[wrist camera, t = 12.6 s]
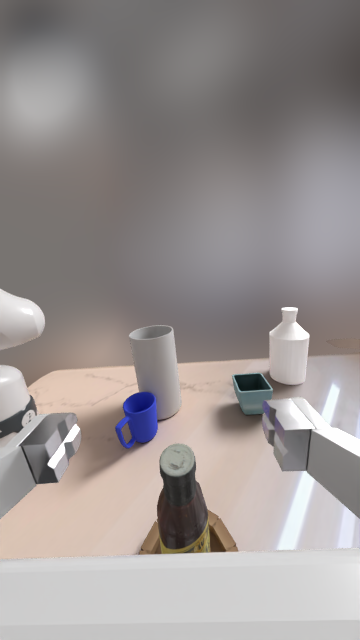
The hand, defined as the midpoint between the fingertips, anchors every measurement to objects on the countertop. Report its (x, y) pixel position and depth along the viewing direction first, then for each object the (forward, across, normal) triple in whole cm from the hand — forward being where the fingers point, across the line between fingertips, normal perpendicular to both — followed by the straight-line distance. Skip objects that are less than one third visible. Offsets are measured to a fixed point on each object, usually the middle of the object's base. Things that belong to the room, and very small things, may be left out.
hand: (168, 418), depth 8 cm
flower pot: (+40, -17, +35) cm, 56 cm away
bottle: (+55, -35, +35) cm, 74 cm away
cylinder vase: (+44, +9, +35) cm, 57 cm away
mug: (+32, +14, +35) cm, 50 cm away
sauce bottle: (+9, +2, +34) cm, 35 cm away
